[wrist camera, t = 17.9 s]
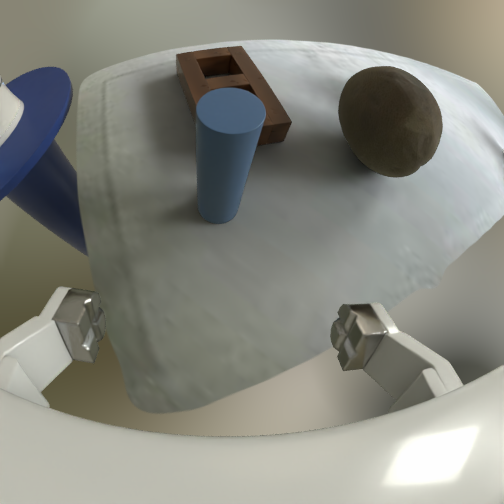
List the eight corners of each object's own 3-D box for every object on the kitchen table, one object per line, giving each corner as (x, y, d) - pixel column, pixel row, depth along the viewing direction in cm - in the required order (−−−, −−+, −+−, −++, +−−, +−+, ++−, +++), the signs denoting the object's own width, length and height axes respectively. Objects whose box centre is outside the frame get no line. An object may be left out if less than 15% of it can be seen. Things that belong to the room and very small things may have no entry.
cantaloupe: (391, 132, 39) (440, 77, 25) (407, 204, 35) (477, 153, 21) (317, 107, 37) (355, 34, 23) (322, 182, 33) (383, 103, 19)
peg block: (207, 157, 31) (208, 136, 27) (176, 73, 35) (176, 54, 31) (283, 141, 34) (292, 122, 30) (238, 63, 37) (241, 45, 33)
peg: (204, 229, 29) (206, 140, 15) (192, 193, 30) (188, 93, 15) (243, 217, 30) (277, 127, 16) (230, 183, 31) (251, 83, 17)
